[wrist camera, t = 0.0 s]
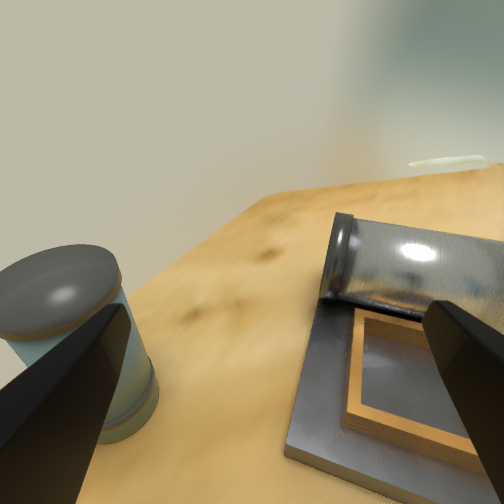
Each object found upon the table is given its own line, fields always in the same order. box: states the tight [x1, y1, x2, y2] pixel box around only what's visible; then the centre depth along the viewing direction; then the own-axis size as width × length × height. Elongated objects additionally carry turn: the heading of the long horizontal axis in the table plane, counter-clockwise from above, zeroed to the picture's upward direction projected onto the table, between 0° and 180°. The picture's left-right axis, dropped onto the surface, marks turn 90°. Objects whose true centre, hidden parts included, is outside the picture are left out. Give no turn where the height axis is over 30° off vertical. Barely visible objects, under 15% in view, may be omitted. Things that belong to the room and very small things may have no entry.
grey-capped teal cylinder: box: [0, 244, 159, 444], centre depth 19 cm, size 6×6×13 cm
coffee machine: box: [284, 212, 504, 504], centre depth 22 cm, size 20×16×10 cm
